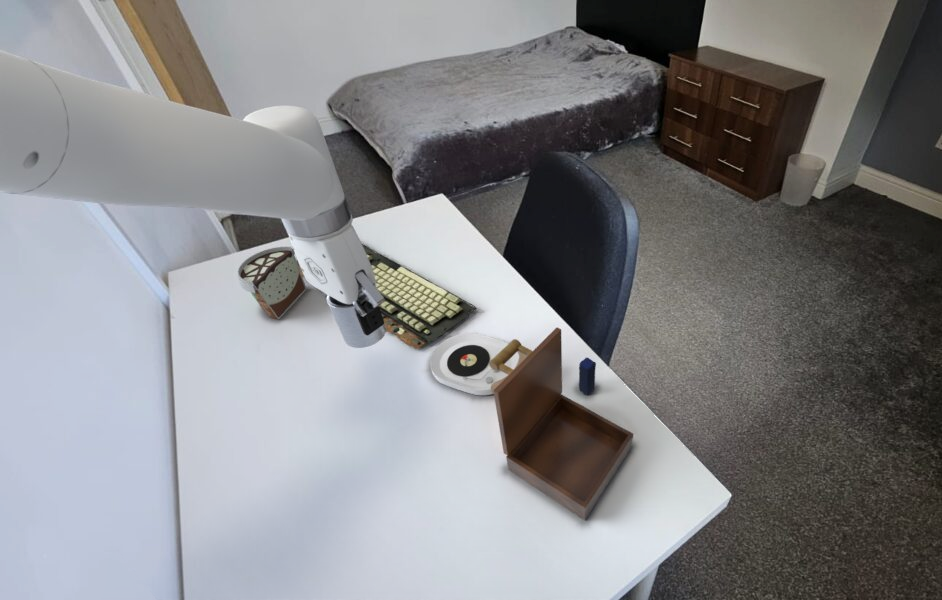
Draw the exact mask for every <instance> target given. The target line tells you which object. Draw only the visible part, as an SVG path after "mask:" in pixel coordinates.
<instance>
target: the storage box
mask: <svg viewBox="0 0 942 600" xmlns="http://www.w3.org/2000/svg"><path fill="white" fill-rule="evenodd" d="M633 441H634V433H633V432H631V431H630V430H627V429H626V428H624V427H622V426H620V425H618V424H617V423H615V422H613V421H611V420H609V419H608V418H606V417H604V416H602V415H600V414H598V413H596V412H595V411H593V410H591V409H589V408H587V407H585V406H584V405H582V404H580V403H578V402H576V401H574V400H572V399H571V398H569V397H568V396H565V395H564V394H562V393H561V395H560V396H559V397H558V398H557V399H556V400H555V402H554V403H553V404H552V405H551V406H550V407H549V409H548V410H547V411H546V412H545V413H544V414H543V416H542V417H541V418H540V419H539V420H538V421H537V423H536V424H535V425H534V426H533V427H532V428H531V430H530V431H529V432H528V433H527V434H526V435H525V437H524V438H523V439H522V440H521V441H520V442H519V444H518V445H517V446H516V447H515V448H514V449H513V451H512V452H511V453H510V454H509V455H508V456H507V455H506V457H505V459H506V465H507V470H508V471H510V473H512V474H514V475H515V476H517V477H519V479H521V480H523V481H525V483H527V484H529V485H530V486H532V487H534V488H535V489H537V490H538V491H540V492H541V493H542V494H544V495H545V496H547V497H548V498H550V499H552V500H553V501H554V502H556V503H558V504H559V505H561V506H562V507H563V508H565V509H567V510H568V511H570V512H571V513H573V514H574V515H575V516H577V517H578V518H580V519H581V520H583V521H585V520H586V519H587V517H588V516H589V515H590V513H591V511H592V510H593V508H594V507H595V505H596V503H597V502H598V500H599V499H600V497H601V495H602V494H603V493H604V491H605V490H606V488H607V486H608V485H609V483H610V482H611V481H612V479H613V477H614V475H615V474H616V473H617V472H618V469H619V468H620V466H621V464H622V463H623V461H624V460H625V458H626V457H627V455H628V454H629V452H630V451H631V449H632V447H633Z"/></svg>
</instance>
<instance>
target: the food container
mask: <svg viewBox="0 0 942 600" xmlns="http://www.w3.org/2000/svg"><path fill="white" fill-rule="evenodd" d="M237 279H238V282H239V285H240V287H241V289H243V290H244V291H246V292H249V293H250V294H251V296H252V297H253V299H255V301H256V302H257V303H258V305H259V306H260V308H261V309H262V310H263V311H264V313H265V314H266V315H267V317H269V318H270V319H273V320H275V321H279V320H280V319H281V318H282V317H283V316H284V315H285V314H286V313H287V312H288V310H289V309H290V308H291V307H292V306H293V305H294V304H295V303H296V302H297V301H298V300H299V299H300V297H301V296H302V295H304V293H305V292H306V291H307V290H308V288H307V285H306V283H305V280H304V277H303V276H302V275H301V272H300V269H299V266H298V264H297V257H296V255H295V252H294V250H293V247H292V246H276V247H272V248H267V249H263V250H261V251H259V252H256V253H254V254H252V255H251V256H248V257H247V258H246V259H245V260H243V262H242V263H241V264H240V265H239V267H238V269H237Z"/></svg>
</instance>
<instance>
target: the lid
mask: <svg viewBox="0 0 942 600" xmlns="http://www.w3.org/2000/svg"><path fill="white" fill-rule="evenodd" d="M518 351H519V352H521V353H523V354H525V355H527V357H526V358H525V359H524V360H523V361H522V362H521V363H520V364H519V365H518V366H517V367H516V368H515V369H514V370H513V369H511V368H510V367H508V366H506V365H504V364H505V363H506V362H507V361H508V360H509V359H510V358H511V357H512V356H513V355H514V354H515V353H516V352H518ZM562 355H563V354H562V329H561V328H560V327H556V328H554V329H553V330H552V331H551V332H550V333H549V334H548V335H547V336H546V338H544V339H543V340H542V341H541V342H540V343H539V344H538V345H537V346H536V347H535V348H534V349H533V350H531V349H529V348H527V347H526V346H523V345H522V343H521V341H519V340H518V339H516V338H513V339H512V340H511V341H510V342H509V344H508V345H507V346H506V347H505V348H504V349H503V350H501V351H500V352H499V353H498V354H497V355H496V356H495V357H494V358H493V359H492V360H491V361H490V362H489V365H490V367H491V368H492V369H493V370H495V371H498V370H500V371H502V372H504V373H506V374H507V375H508V376H507V377H506V378H505V379H504V380H503V381H502V382H501V383H500V384H499V385H498V386H497V387H496V388H495V389H494V390H493V392H494V394H493V397H494V403H495V408H496V409H495V410H496V415H497V416H496V417H497V421H498V427H499V433H500V440H501V446H502V451H503V454H504V455H506V456H508V455H509V454H510V453H511V452H512V451H513V449H514V448H515V447H516V446H517V445H518V444H519V442H520V441H521V440H522V439H523V438H524V437H525V435H526V434H527V433H528V432H529V431H530V430H531V428H532V427H533V426H534V425H535V424H536V423H537V421H538V420H539V419H540V418H541V417H542V416H543V414H544V413H545V412H546V411H547V410H548V409H549V407H550V406H551V405H552V404H553V403H554V402H555V400H556V399H557V398H558V397H559V396H560V395H561V394H562V393H563V359H562V357H563V356H562Z"/></svg>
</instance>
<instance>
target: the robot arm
mask: <svg viewBox="0 0 942 600" xmlns="http://www.w3.org/2000/svg"><path fill="white" fill-rule="evenodd" d="M0 193H2V194H9V195H19V196H28V197H35V198H45V199H51V200H52V199H53V200H62V201H63V200H64V201H73V202H82V203H93V204H104V205H111V206H112V205H113V206H127V207H157V208H158V207H162V208H163V207H164V208H183V209H184V208H185V209H188V208H189V209H198V210H202V211H207V212H213V213H220V214H230V215H241V216H254V217H262V218H263V217H264V218H273V219H280V220H281V222H282V224H283V227H284V229H285V231H286V233H287V235H288V238H289V241H290V244H291V248H292V249H293V250H294V252H295V254H294V255H295V258H296V261H297V260H298V262H299V265H300V267H301V269H302V272H303V274H304V276H305V277H304V278H305V280H306V281H307V283H309V284H310V285H311V286H313V287H314V288H316V289H317V290H319V291H321V292H322V293H323V295H325V299H326V298H327V295H329V296H331V297H333V298H334V299H336V300H338V301H340V302H342V303H345V304H352V303H353V305H354V306H355V308H356V310H357V311H358V314H357V315H356V316H357V318H358V321H359V323H360V325H361V328H362V330H363V333H364V334H365V335H367V336H368V335H370V334H371V333H373V332H374V331H375V330H377V329H378V328H380V327H381V326H382V325H384V320H383V317H382V314H381V311H380V309H379V306H380V304H381V303H382V302H383V301H384V300H385V299H384V297H383V296H382V295H381V293H380V292H379V291H378V290H377V289H376V279H375V276H374V272H373V270H372V267H371V264H370V262H369V259H368V257H367V255H366V252H365V250H364V248H363V245H362V244H363V243H362V241H361V240H360V238H359V235H358V234H357V232H356V229H355V228H354V226H353V220H354V219H353V215H352V212H351V208H350V207H349V203H348V201H347V197H346V195H345V192H344V189H343V186H342V184H341V181H340V177H339V175H338V172H337V169H336V167H335V163H334V161H333V157H332V155H331V152H330V149H329V146H328V144H327V141H326V138H325V135H324V132H323V129H322V126H321V124H320V122H319V120H318V119H317V117H316V115H315V114H314V113H313V112H311V111H310V110H309V109H306V108H304V107H302V106H296V105H275V106H268V107H265V108H261V109H258V110H255V111H252V112H251V113H249V114H247V115H246V116H245V117H244V118H243V119H240V118H236V117H233V116H229V115H225V114H221V113H218V112H213V111H210V110H207V109H203V108H198V107H195V106H191V105H187V104H183V103H180V102H175V101H172V100H169V99H166V98H161V97H159V96H155V95H152V94H149V93H146V92H143V91H138V90H136V89H132V88H128V87H123V86H119V85H116V84H113V83H108V82H104V81H100V80H96V79H93V78H89V77H85V76H82V75H79V74H75V73H73V72H69V71H66V70H63V69H60V68H56V67H54V66H51V65H49V64H44V63H41V62H39V61H36V60H33V59H30V58H26V57H24V56H22V55H21V56H20V55H18V54H14V53H11V52H8V51H5V50H3V49H0ZM359 287H360V289H361V290H359V291H358V288H359ZM364 295H366V296H367V297H368V299H369V301H368V302H366V303H365V304H364V305H363V306H362V304H361V303H360V301H359V298H361V297H362V296H364Z"/></svg>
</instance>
